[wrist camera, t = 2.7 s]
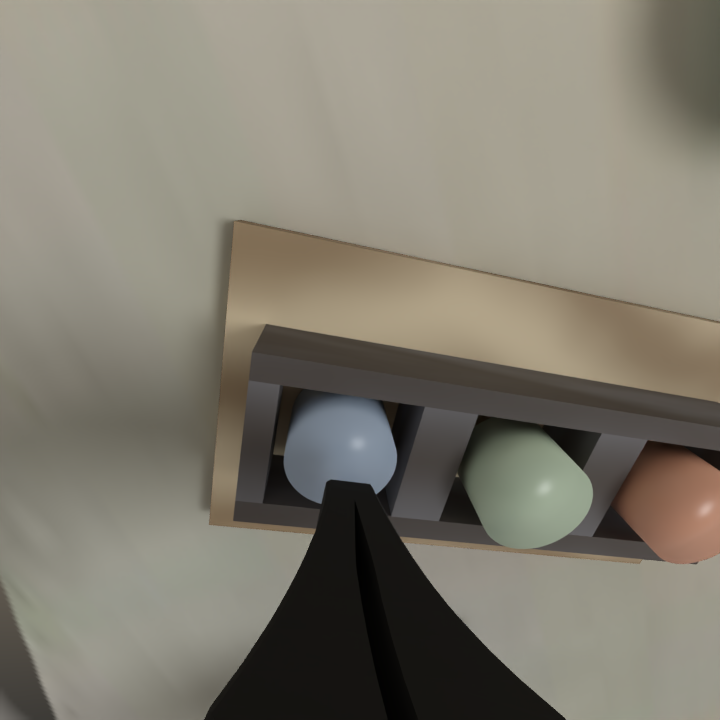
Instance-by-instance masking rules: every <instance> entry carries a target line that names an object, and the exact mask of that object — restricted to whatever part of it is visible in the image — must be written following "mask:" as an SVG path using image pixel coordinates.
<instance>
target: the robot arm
mask: <svg viewBox="0 0 720 720" xmlns="http://www.w3.org/2000/svg"><path fill="white" fill-rule="evenodd" d="M204 720H566V719H565V718H564V717H563V716H562V715H561V714H560V713H558V712H557V711H556V710H555V709H554V708H553V707H551V706H550V705H549V704H548V703H547V702H546V701H544V700H543V699H542V698H541V697H540V696H539V695H538V694H536V693H535V692H534V691H533V690H532V689H531V688H529V687H528V686H527V685H526V684H525V683H524V682H522V681H521V680H520V679H519V678H518V677H517V676H516V675H515V674H514V673H513V672H512V671H511V670H510V669H509V668H507V667H506V666H505V665H504V664H503V663H502V662H501V661H500V660H499V659H498V658H497V657H496V656H495V655H494V654H493V653H492V652H491V651H490V650H489V649H488V648H487V647H486V646H485V645H484V644H483V643H482V642H481V641H480V640H479V639H478V638H477V637H476V635H475V634H474V633H473V632H472V631H471V630H470V629H469V628H468V627H467V626H466V624H464V623H463V621H462V620H461V619H460V618H459V617H458V616H457V615H456V614H455V613H454V611H453V610H452V609H451V608H450V607H449V606H448V604H447V603H446V602H445V601H444V599H443V598H442V597H441V596H440V594H439V593H438V592H437V591H436V589H435V588H434V587H433V585H432V584H431V583H430V581H429V580H428V579H427V577H426V576H425V575H424V573H423V572H422V570H421V569H420V567H419V566H418V565H417V563H416V562H415V560H414V559H413V557H412V556H411V554H410V553H409V551H408V549H407V548H406V546H405V545H404V543H403V542H402V540H401V538H400V537H399V535H398V533H397V532H396V530H395V528H394V527H393V525H392V523H391V521H390V520H389V518H388V516H387V514H386V512H385V511H384V509H383V507H382V505H381V503H380V501H379V499H378V497H377V495H376V493H375V491H374V489H373V487H372V486H371V485H370V484H367V483H358V482H349V481H341V480H332V479H330V480H329V481H327V482H326V485H325V489H324V494H323V499H322V503H321V508H320V512H319V517H318V521H317V526H316V531H315V533H314V536H313V538H312V541H311V543H310V545H309V548H308V550H307V552H306V555H305V557H304V559H303V561H302V563H301V566H300V568H299V570H298V572H297V574H296V576H295V578H294V580H293V581H292V583H291V585H290V587H289V589H288V591H287V593H286V594H285V596H284V598H283V600H282V601H281V603H280V605H279V607H278V608H277V610H276V612H275V614H274V615H273V617H272V619H271V620H270V622H269V623H268V625H267V627H266V628H265V630H264V631H263V633H262V634H261V636H260V637H259V639H258V640H257V642H256V643H255V645H254V646H253V648H252V650H251V651H250V653H249V654H248V656H247V657H246V659H245V660H244V661H243V663H242V664H241V666H240V667H239V669H238V670H237V671H236V673H235V674H234V675H233V677H232V678H231V679H230V681H229V682H228V684H227V685H226V686H225V688H224V689H223V690H222V692H221V693H220V694H219V696H218V697H217V698H216V700H215V701H214V703H213V704H212V705H211V707H210V709H209V711H208V713H207V715H206V717H205V719H204Z"/></svg>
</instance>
